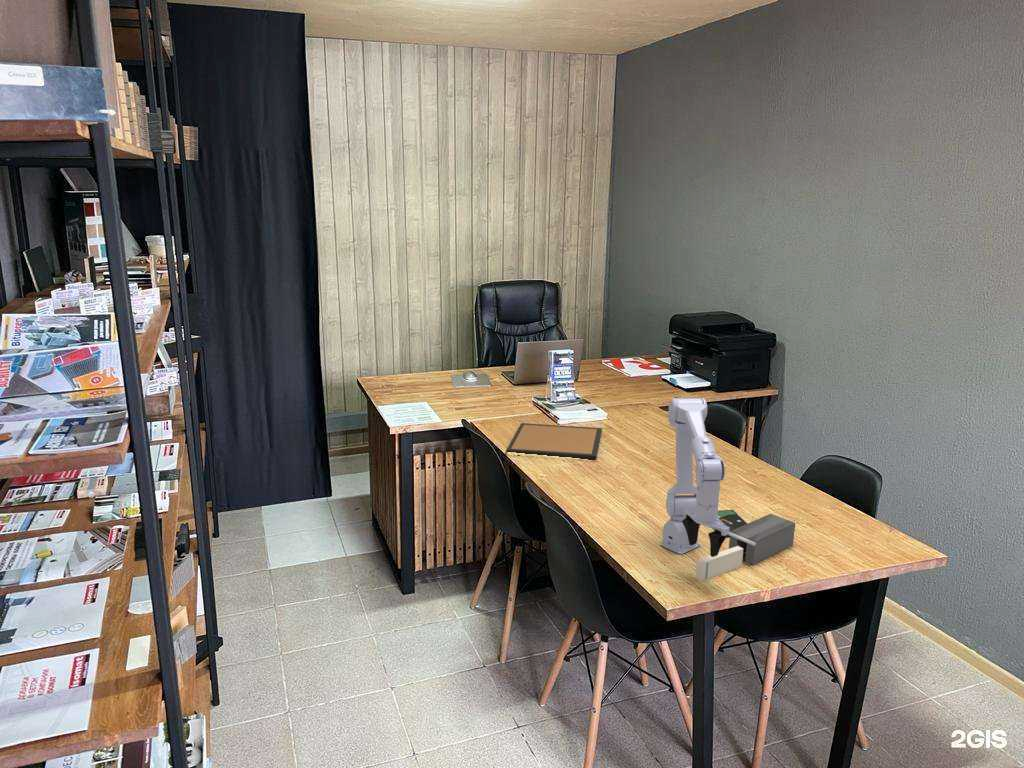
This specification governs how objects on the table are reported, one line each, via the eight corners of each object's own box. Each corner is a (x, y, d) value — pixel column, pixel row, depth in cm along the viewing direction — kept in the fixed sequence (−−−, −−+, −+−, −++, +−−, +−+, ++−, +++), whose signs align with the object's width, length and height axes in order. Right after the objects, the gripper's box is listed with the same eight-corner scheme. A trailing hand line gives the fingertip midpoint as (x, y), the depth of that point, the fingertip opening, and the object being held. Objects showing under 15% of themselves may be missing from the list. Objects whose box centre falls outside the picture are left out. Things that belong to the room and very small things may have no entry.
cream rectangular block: (700, 581, 200) (702, 563, 199) (695, 578, 202) (696, 560, 201) (741, 566, 209) (743, 548, 207) (736, 563, 210) (737, 545, 209)
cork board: (506, 456, 295) (596, 462, 289) (506, 449, 294) (596, 455, 288) (521, 429, 329) (601, 434, 323) (521, 423, 328) (602, 428, 322)
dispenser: (751, 566, 209) (753, 542, 207) (725, 554, 215) (727, 531, 213) (793, 545, 221) (796, 523, 219) (767, 535, 228) (770, 513, 226)
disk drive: (753, 537, 227) (732, 516, 241) (754, 529, 227) (733, 508, 241) (721, 539, 226) (701, 518, 240) (722, 531, 225) (702, 510, 239)
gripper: (739, 509, 192) (734, 557, 196) (697, 490, 204) (694, 535, 208) (720, 515, 189) (715, 563, 192) (678, 495, 201) (675, 541, 204)
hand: (703, 549), depth 200 cm, fingers open, 7 cm apart
